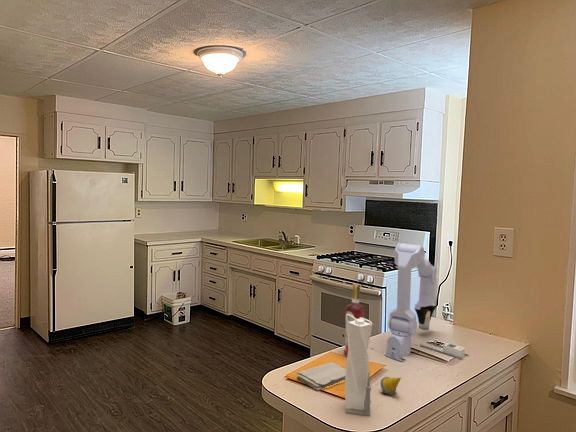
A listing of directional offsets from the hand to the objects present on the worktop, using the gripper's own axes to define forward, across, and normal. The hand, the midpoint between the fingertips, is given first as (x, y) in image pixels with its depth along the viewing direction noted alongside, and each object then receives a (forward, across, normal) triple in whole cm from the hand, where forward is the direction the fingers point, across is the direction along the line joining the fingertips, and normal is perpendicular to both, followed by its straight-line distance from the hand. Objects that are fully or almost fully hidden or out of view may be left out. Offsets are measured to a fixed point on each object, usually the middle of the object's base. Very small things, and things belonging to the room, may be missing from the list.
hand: (424, 322), depth 189 cm
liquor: (+8, -40, +8) cm, 41 cm away
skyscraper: (+8, -71, -17) cm, 73 cm away
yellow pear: (+8, -55, -19) cm, 59 cm away
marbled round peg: (+2, 0, 0) cm, 2 cm away
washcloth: (+8, -63, +2) cm, 64 cm away
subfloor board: (+7, -6, -16) cm, 18 cm away
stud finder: (+6, -10, -18) cm, 22 cm away
